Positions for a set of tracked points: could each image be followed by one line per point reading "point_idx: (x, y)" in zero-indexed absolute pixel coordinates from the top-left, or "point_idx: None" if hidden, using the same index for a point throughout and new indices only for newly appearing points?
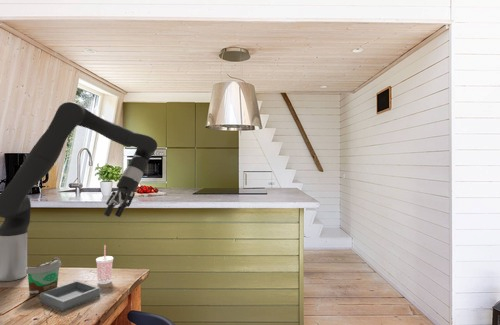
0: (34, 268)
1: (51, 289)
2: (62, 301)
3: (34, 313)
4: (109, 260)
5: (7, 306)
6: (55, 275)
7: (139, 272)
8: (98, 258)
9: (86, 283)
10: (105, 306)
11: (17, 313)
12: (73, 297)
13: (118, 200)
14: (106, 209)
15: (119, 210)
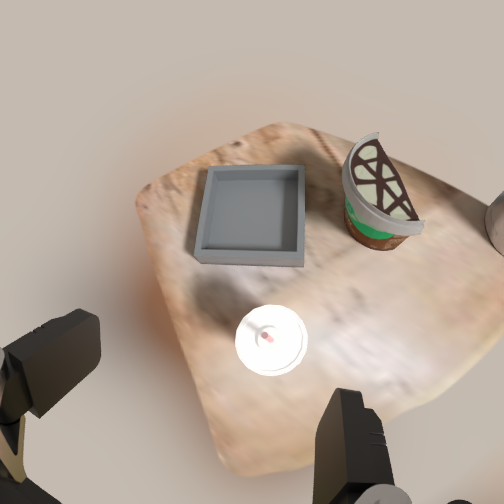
0: (361, 141)
1: (302, 186)
2: (211, 166)
3: (260, 150)
4: (236, 335)
5: (341, 142)
6: (352, 210)
7: (237, 456)
8: (298, 328)
9: (255, 257)
10: (151, 235)
11: (290, 137)
12: (206, 187)
13: (36, 487)
14: (358, 434)
15: (33, 331)
